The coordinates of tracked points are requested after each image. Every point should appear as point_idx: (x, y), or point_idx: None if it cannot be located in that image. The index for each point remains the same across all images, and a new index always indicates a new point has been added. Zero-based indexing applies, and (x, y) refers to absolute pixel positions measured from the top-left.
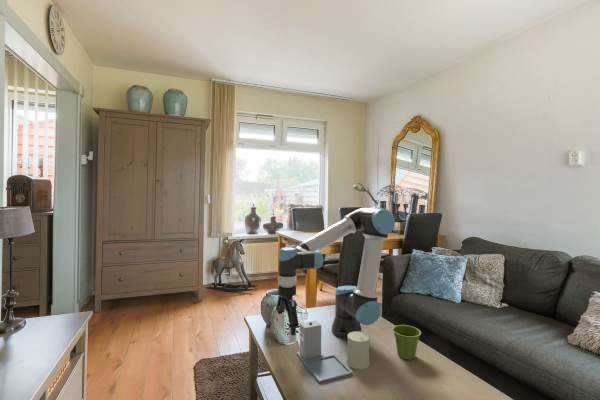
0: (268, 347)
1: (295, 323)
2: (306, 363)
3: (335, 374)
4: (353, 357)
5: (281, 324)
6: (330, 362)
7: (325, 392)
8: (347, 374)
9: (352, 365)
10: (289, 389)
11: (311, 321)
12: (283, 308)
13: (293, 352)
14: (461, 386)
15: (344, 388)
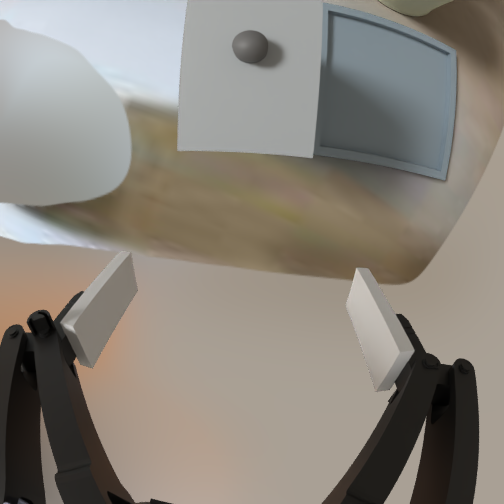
0: (119, 236)
1: (433, 381)
2: (334, 154)
3: (436, 98)
4: (440, 4)
5: (121, 285)
6: (362, 51)
7: (469, 188)
8: (454, 69)
9: (419, 13)
10: (403, 272)
11: (189, 16)
12: (75, 400)
13: None
14: None
15: (482, 128)
